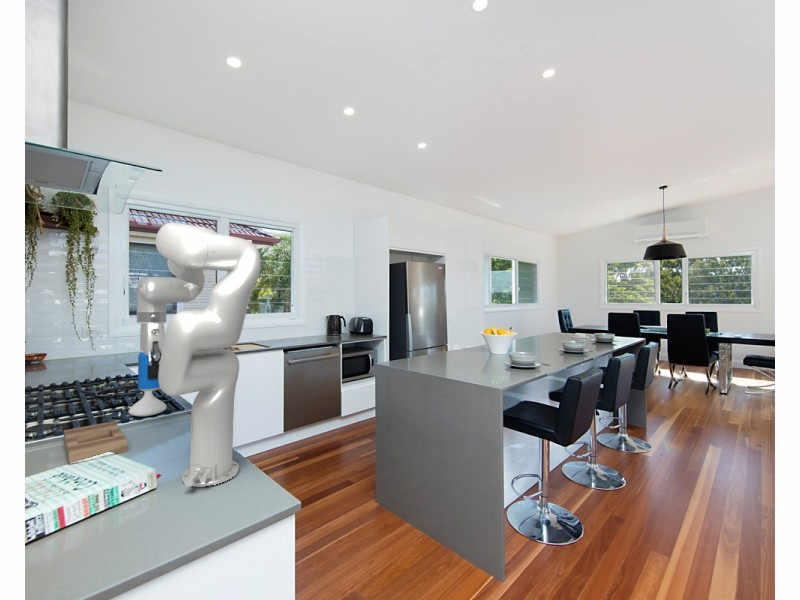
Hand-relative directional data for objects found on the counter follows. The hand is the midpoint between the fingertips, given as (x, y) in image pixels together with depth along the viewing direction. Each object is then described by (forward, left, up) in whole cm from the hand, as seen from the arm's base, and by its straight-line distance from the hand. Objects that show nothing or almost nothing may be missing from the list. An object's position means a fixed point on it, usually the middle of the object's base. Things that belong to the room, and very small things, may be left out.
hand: (150, 375), depth 113 cm
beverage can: (0, 0, -4) cm, 4 cm away
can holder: (-7, +11, -19) cm, 23 cm away
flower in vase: (+21, +12, -19) cm, 31 cm away
